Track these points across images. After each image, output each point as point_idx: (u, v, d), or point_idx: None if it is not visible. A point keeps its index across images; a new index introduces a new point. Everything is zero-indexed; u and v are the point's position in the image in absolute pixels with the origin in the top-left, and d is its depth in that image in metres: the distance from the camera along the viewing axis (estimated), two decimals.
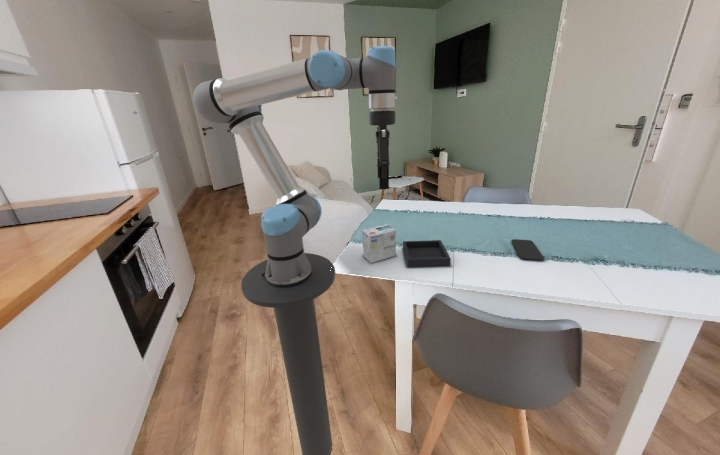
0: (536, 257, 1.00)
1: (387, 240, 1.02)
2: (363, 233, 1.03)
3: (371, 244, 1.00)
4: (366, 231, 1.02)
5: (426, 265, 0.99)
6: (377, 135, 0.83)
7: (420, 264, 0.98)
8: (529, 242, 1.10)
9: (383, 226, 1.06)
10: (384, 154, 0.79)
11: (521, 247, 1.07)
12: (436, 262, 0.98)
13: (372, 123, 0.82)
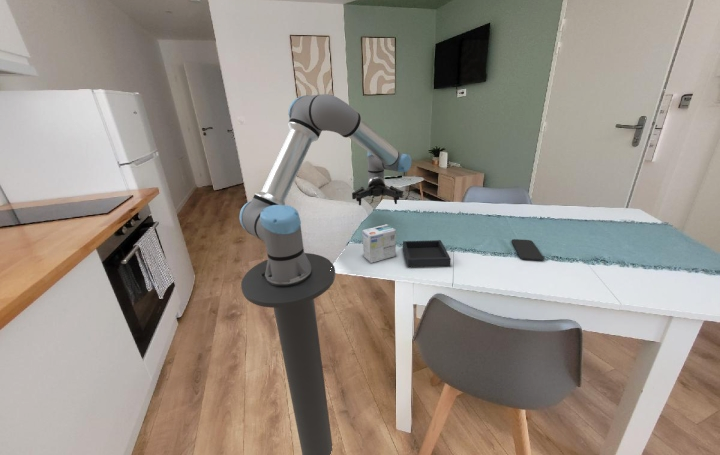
0: (536, 257, 1.00)
1: (387, 240, 1.02)
2: (363, 233, 1.03)
3: (371, 244, 1.00)
4: (366, 231, 1.02)
5: (426, 265, 0.99)
6: None
7: (420, 264, 0.98)
8: (529, 242, 1.10)
9: (383, 226, 1.06)
10: None
11: (521, 247, 1.07)
12: (436, 262, 0.98)
13: (381, 181, 1.24)
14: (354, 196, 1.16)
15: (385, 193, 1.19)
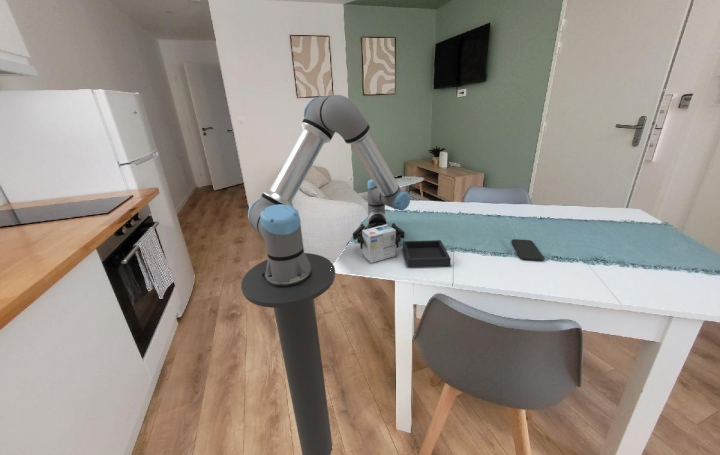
0: (536, 257, 1.00)
1: (387, 240, 1.02)
2: (363, 233, 1.03)
3: (371, 244, 1.00)
4: (366, 231, 1.02)
5: (426, 265, 0.99)
6: None
7: (420, 264, 0.98)
8: (529, 242, 1.10)
9: (383, 226, 1.06)
10: None
11: (521, 247, 1.07)
12: (436, 262, 0.98)
13: (383, 218, 1.17)
14: (355, 237, 1.08)
15: None
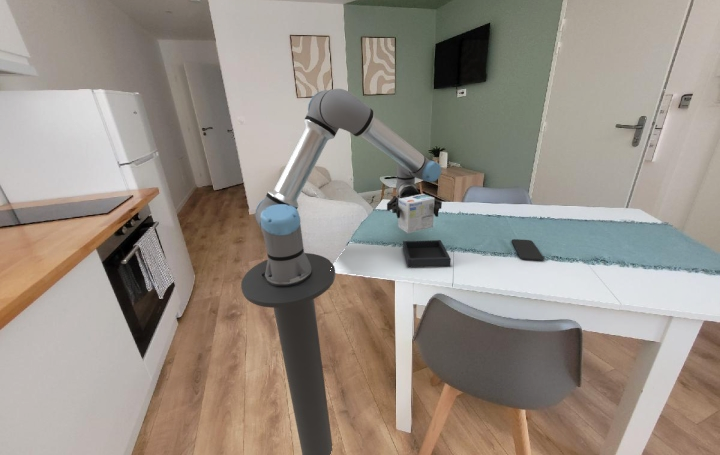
0: (536, 257, 1.00)
1: (425, 209, 0.96)
2: (400, 202, 0.97)
3: (409, 212, 0.94)
4: (403, 199, 0.96)
5: (426, 265, 0.99)
6: None
7: (420, 264, 0.98)
8: (529, 242, 1.10)
9: (420, 195, 1.00)
10: None
11: (521, 247, 1.07)
12: (436, 262, 0.98)
13: (416, 189, 1.11)
14: (389, 207, 1.02)
15: None
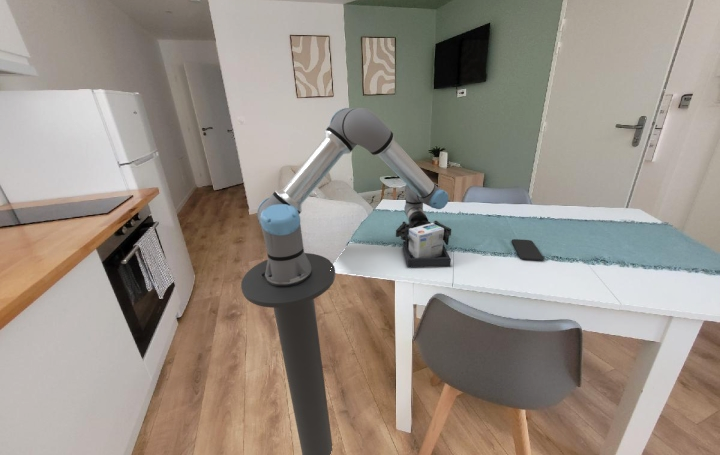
0: (536, 257, 1.00)
1: (435, 239, 1.00)
2: (410, 232, 1.01)
3: (420, 243, 0.98)
4: (414, 230, 1.00)
5: (426, 265, 0.99)
6: None
7: (420, 264, 0.98)
8: (529, 242, 1.10)
9: (430, 225, 1.03)
10: None
11: (521, 247, 1.07)
12: (436, 262, 0.98)
13: (424, 215, 1.15)
14: (398, 234, 1.06)
15: None
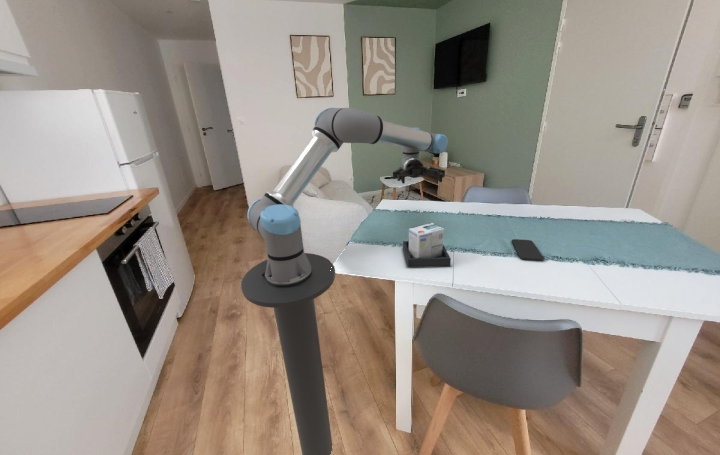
0: (536, 257, 1.00)
1: (435, 239, 1.00)
2: (410, 232, 1.01)
3: (420, 243, 0.98)
4: (414, 230, 1.00)
5: (426, 265, 0.99)
6: None
7: (420, 264, 0.98)
8: (529, 242, 1.10)
9: (430, 225, 1.03)
10: None
11: (521, 247, 1.07)
12: (436, 262, 0.98)
13: (420, 162, 1.21)
14: (395, 175, 1.12)
15: (426, 173, 1.16)
